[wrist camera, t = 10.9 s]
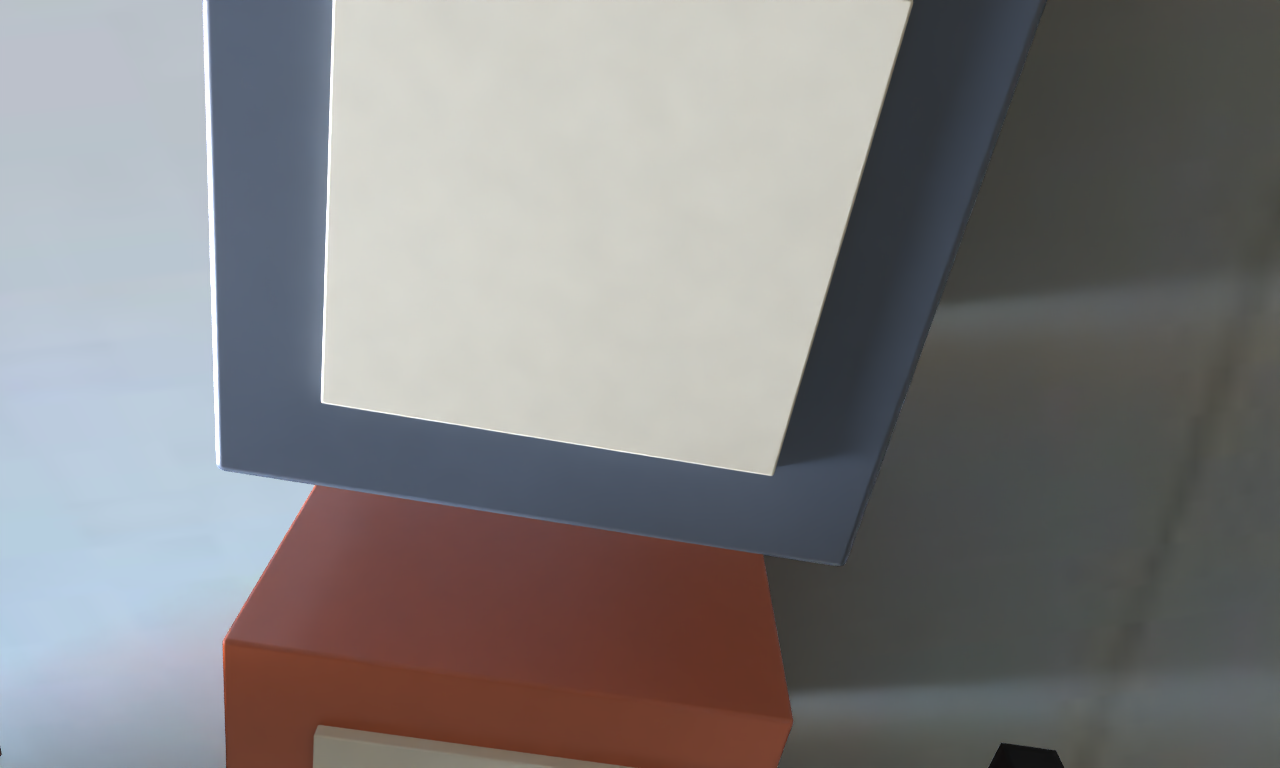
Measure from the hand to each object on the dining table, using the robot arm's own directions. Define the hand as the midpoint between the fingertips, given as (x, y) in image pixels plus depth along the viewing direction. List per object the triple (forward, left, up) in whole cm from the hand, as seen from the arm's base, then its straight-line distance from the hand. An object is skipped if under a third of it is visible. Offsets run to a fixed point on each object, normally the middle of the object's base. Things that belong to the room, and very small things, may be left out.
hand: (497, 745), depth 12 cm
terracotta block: (0, 0, -5) cm, 5 cm away
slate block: (-8, 0, -5) cm, 9 cm away
